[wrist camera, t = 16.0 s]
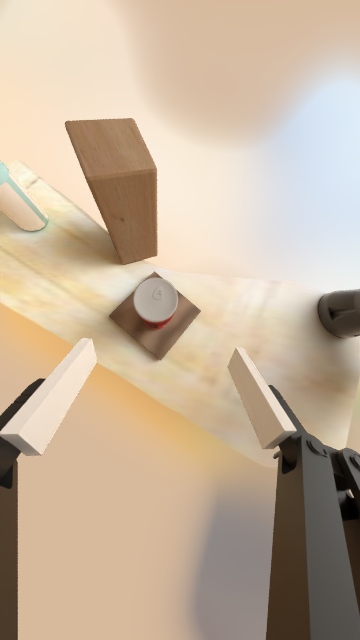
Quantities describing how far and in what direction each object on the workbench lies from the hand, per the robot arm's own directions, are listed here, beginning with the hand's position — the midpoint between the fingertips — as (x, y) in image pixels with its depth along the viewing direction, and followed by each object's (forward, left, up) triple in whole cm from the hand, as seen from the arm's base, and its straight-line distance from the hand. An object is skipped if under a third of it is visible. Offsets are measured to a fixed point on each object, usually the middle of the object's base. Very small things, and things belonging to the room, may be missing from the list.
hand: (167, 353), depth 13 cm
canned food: (+7, -6, -20) cm, 22 cm away
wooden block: (+25, -17, -22) cm, 37 cm away
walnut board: (+7, -6, -22) cm, 24 cm away
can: (+47, -4, -22) cm, 52 cm away
